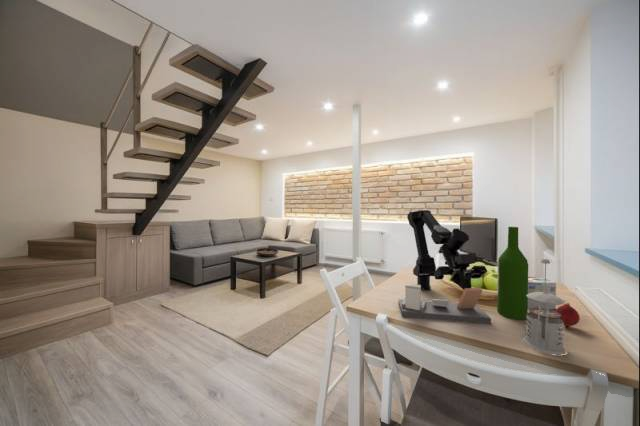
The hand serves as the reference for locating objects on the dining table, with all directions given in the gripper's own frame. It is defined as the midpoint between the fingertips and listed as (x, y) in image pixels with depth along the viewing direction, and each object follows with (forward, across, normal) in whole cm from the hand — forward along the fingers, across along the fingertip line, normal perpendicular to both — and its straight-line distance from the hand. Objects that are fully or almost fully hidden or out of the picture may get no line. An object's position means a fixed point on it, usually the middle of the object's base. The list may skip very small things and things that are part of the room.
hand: (470, 293), depth 90 cm
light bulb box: (+2, +33, +11) cm, 35 cm away
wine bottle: (+6, +17, +6) cm, 19 cm away
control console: (+4, -9, +9) cm, 13 cm away
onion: (+13, +27, -1) cm, 30 cm away
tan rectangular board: (+3, 0, +6) cm, 7 cm away
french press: (+20, +7, -9) cm, 23 cm away
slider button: (+2, -20, +8) cm, 21 cm away
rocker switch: (+2, -9, +7) cm, 12 cm away
